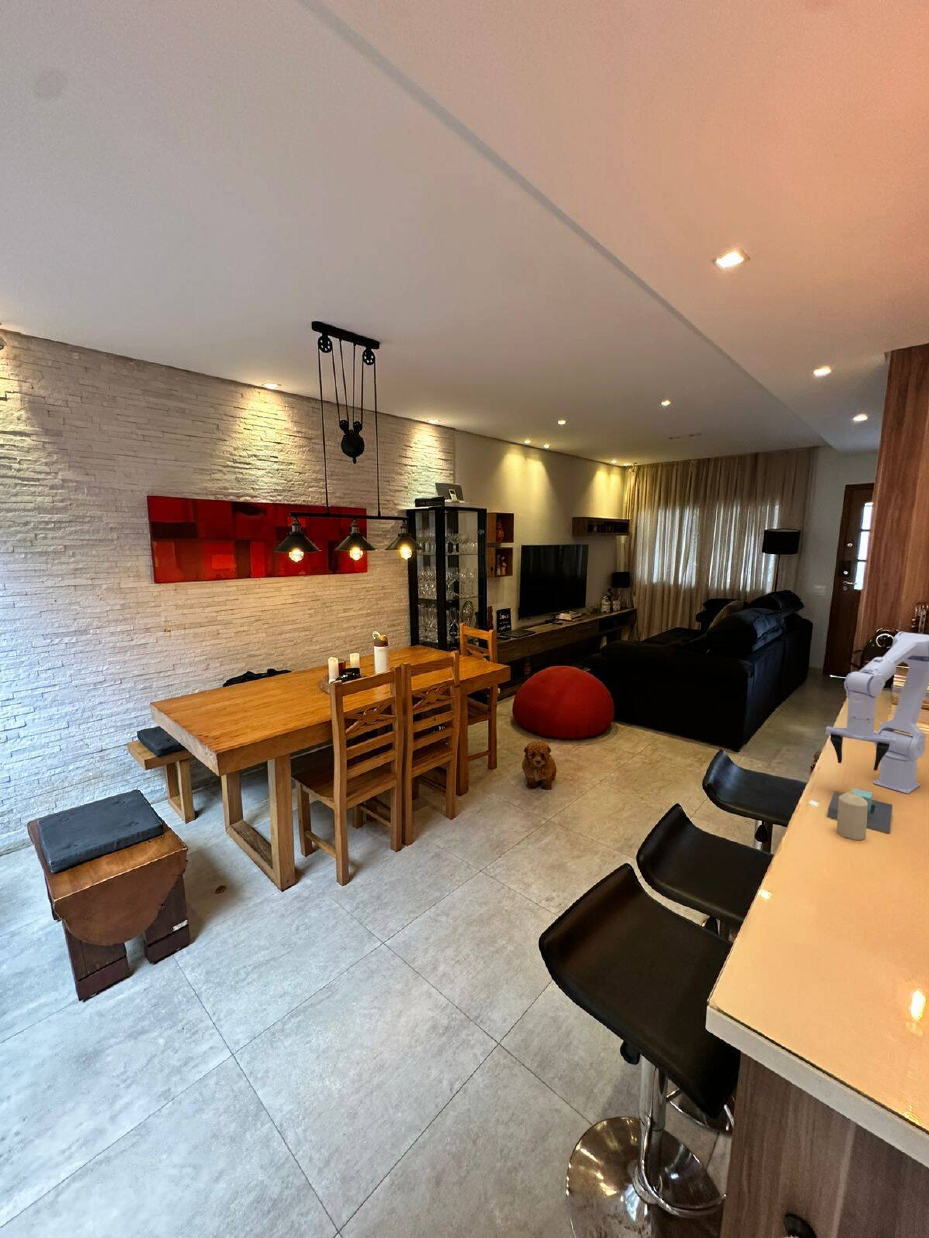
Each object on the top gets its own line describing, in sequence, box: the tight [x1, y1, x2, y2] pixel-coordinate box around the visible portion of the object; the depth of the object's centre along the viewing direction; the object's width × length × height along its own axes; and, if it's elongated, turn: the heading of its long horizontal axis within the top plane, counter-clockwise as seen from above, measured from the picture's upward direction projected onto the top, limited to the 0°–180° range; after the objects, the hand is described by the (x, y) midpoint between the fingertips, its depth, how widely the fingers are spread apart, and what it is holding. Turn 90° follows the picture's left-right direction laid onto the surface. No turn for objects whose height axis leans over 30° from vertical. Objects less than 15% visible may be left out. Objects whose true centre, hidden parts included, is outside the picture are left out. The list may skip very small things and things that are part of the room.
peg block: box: [850, 787, 873, 813], centre depth 127 cm, size 4×4×6 cm
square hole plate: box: [827, 790, 893, 834], centre depth 127 cm, size 12×12×2 cm
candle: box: [836, 791, 868, 841], centre depth 119 cm, size 6×6×10 cm
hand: (857, 765), depth 135 cm, fingers open, 7 cm apart
